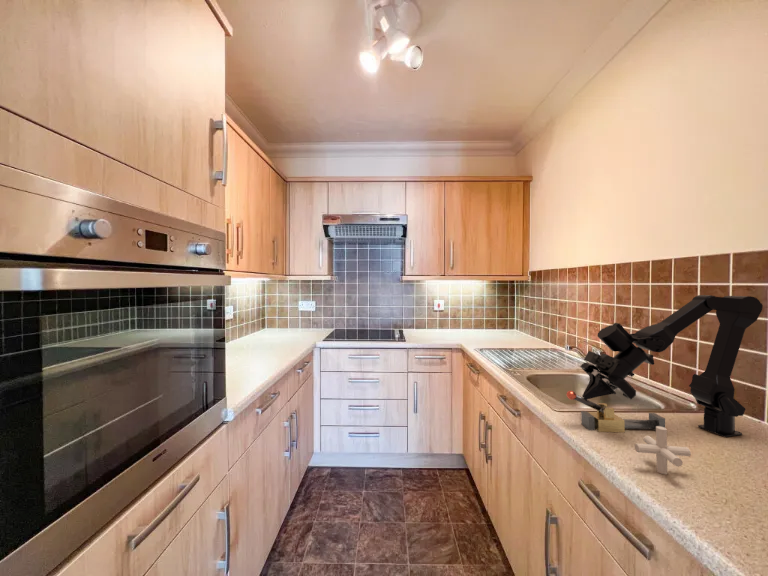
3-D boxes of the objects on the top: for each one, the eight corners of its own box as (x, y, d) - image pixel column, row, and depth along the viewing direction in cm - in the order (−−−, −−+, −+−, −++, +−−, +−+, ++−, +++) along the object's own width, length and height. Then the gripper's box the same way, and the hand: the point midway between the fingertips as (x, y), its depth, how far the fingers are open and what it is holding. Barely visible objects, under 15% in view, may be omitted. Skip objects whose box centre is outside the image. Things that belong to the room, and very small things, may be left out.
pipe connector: (706, 488, 64) (705, 440, 64) (650, 483, 66) (650, 436, 66) (671, 461, 74) (671, 420, 74) (624, 457, 76) (624, 417, 76)
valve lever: (608, 407, 93) (567, 388, 95) (614, 410, 91) (571, 390, 92) (604, 414, 93) (563, 395, 95) (610, 418, 91) (567, 398, 92)
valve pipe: (652, 425, 93) (652, 403, 93) (667, 433, 88) (667, 411, 88) (580, 423, 96) (579, 402, 96) (590, 431, 90) (589, 409, 90)
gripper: (587, 337, 101) (551, 369, 103) (625, 349, 83) (580, 388, 84) (612, 362, 101) (575, 394, 102) (656, 380, 82) (610, 418, 83)
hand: (583, 397), depth 93 cm, fingers closed, pressing on valve lever
